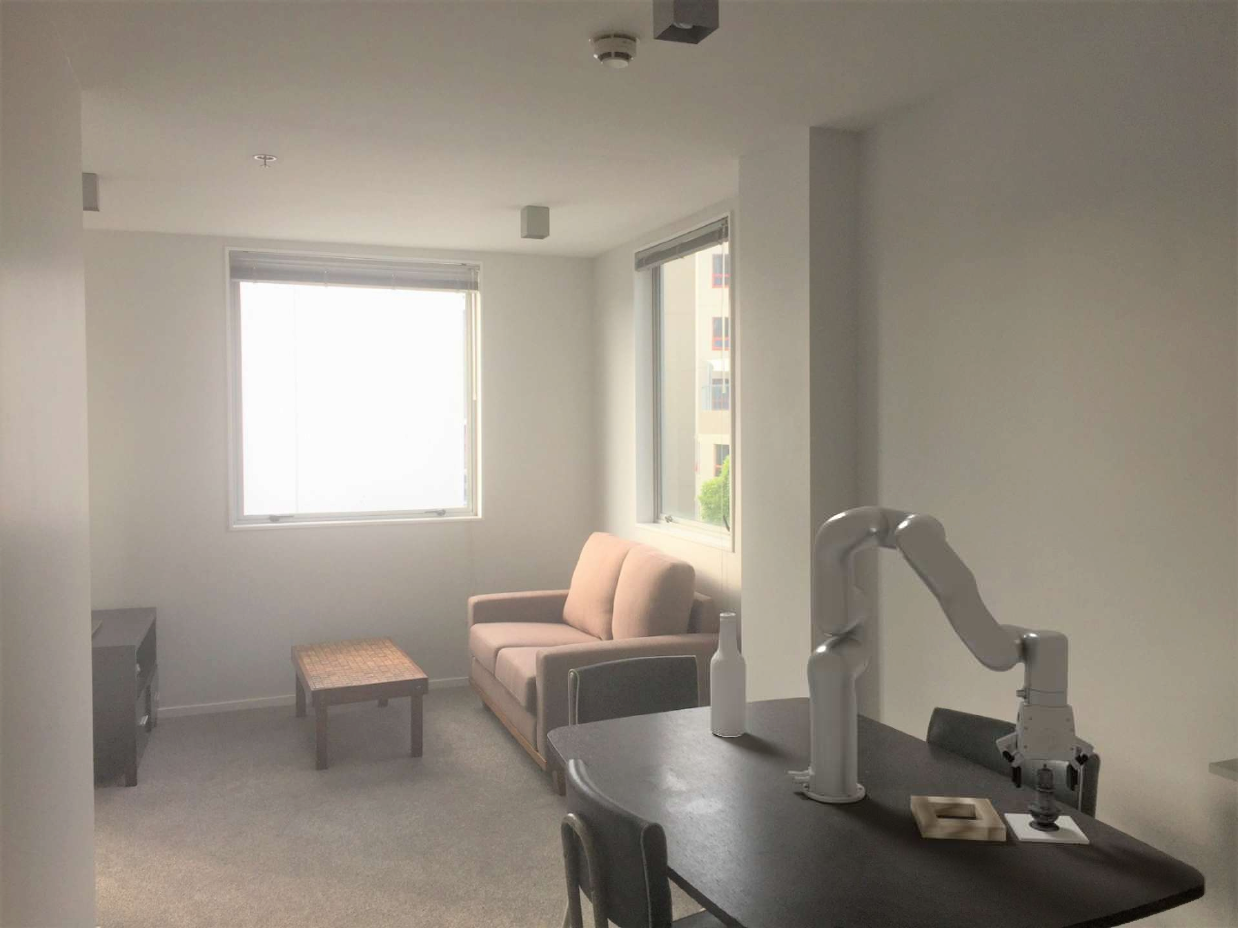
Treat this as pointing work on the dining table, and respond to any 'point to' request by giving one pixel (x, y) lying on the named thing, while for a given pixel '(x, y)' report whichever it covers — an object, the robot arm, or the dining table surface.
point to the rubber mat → (1063, 835)
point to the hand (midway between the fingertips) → (1043, 786)
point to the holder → (979, 829)
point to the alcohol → (728, 682)
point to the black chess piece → (1044, 803)
